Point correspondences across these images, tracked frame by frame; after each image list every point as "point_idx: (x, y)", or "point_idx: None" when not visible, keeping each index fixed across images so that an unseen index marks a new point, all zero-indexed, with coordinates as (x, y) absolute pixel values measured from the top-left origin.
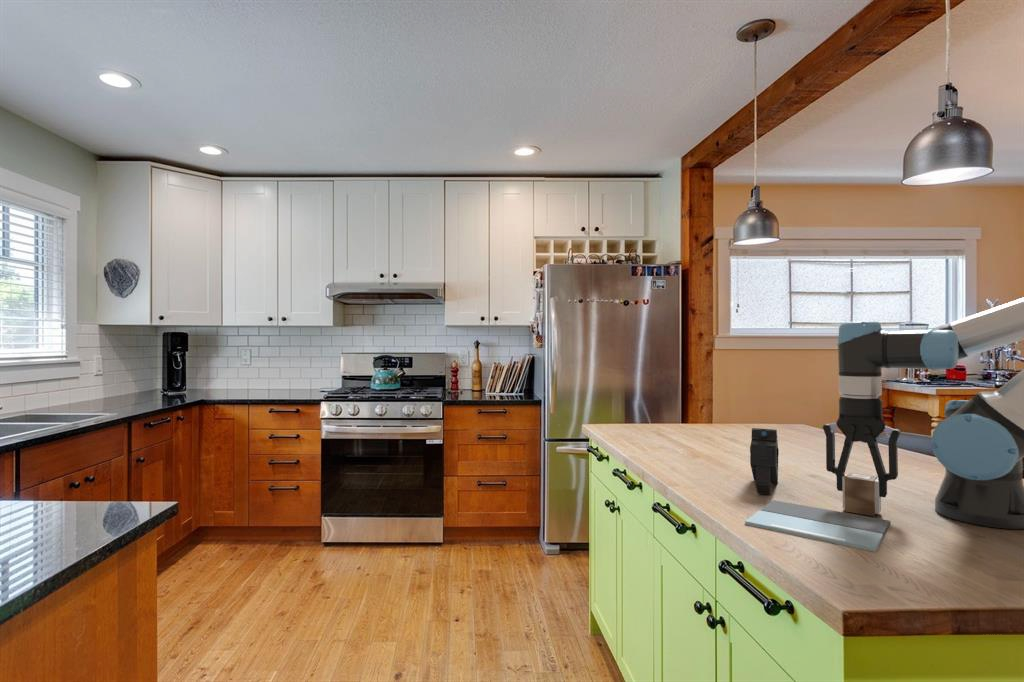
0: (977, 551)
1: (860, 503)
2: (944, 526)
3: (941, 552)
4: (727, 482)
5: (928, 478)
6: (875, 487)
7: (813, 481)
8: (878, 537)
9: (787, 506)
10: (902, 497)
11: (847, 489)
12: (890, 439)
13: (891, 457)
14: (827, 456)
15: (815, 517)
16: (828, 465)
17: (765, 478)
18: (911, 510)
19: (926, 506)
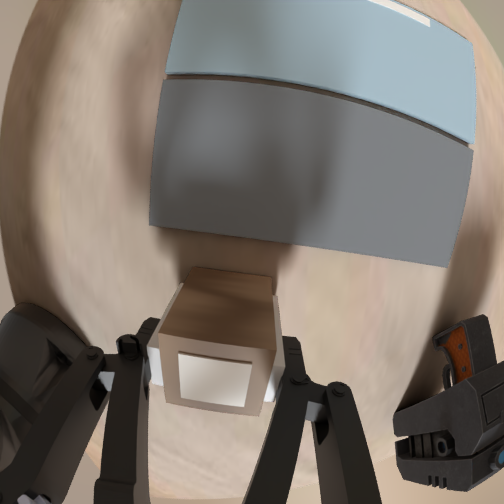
0: (26, 125)
1: (224, 287)
2: (67, 273)
3: (72, 63)
4: None
5: (167, 484)
6: None
7: None
8: (178, 34)
9: (424, 219)
10: (170, 428)
11: (264, 317)
12: (23, 484)
13: (57, 415)
14: (359, 436)
15: (354, 130)
16: (346, 401)
17: (474, 333)
18: None
19: None
